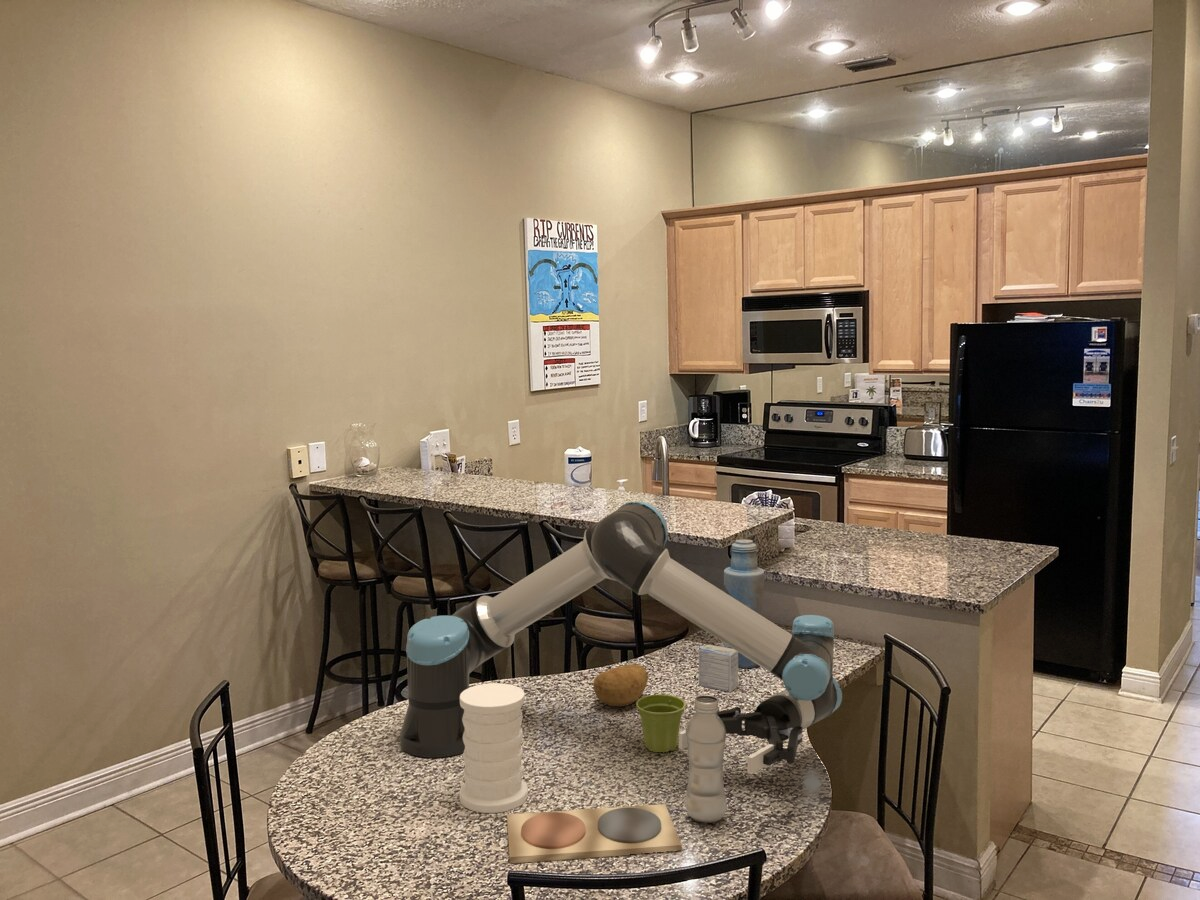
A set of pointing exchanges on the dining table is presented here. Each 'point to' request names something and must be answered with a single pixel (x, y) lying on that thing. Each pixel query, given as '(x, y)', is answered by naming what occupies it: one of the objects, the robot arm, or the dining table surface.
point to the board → (590, 833)
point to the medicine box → (718, 668)
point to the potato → (621, 685)
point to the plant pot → (660, 721)
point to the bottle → (745, 583)
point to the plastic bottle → (705, 762)
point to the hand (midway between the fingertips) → (713, 753)
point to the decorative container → (492, 748)
